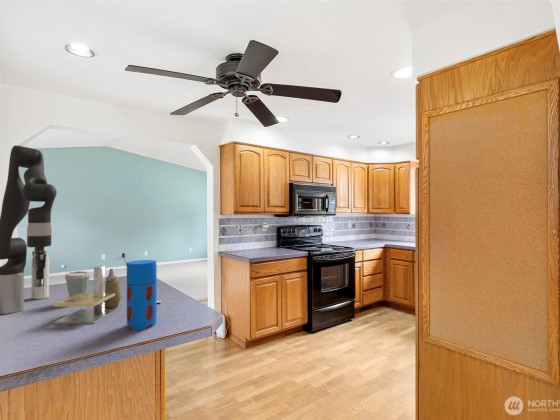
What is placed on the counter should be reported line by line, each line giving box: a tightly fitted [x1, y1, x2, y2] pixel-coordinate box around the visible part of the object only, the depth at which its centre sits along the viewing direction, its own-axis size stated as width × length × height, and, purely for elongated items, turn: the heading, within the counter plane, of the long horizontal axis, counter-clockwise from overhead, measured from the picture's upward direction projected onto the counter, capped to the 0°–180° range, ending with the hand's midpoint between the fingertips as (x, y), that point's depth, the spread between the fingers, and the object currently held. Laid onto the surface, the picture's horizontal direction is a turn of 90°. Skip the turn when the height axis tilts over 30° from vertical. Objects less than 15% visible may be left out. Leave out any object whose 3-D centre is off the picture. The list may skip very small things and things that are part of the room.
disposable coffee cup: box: [64, 270, 91, 302], centre depth 151 cm, size 11×11×15 cm
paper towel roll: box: [31, 256, 50, 300], centre depth 160 cm, size 7×6×21 cm
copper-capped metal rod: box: [34, 249, 46, 287], centre depth 119 cm, size 3×3×14 cm
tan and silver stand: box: [53, 265, 116, 325], centre depth 130 cm, size 16×16×21 cm
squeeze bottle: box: [105, 268, 122, 309], centre depth 144 cm, size 8×8×18 cm
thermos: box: [126, 259, 158, 331], centre depth 120 cm, size 11×11×25 cm
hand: (39, 278), depth 119 cm, fingers closed on copper-capped metal rod, 3 cm apart
